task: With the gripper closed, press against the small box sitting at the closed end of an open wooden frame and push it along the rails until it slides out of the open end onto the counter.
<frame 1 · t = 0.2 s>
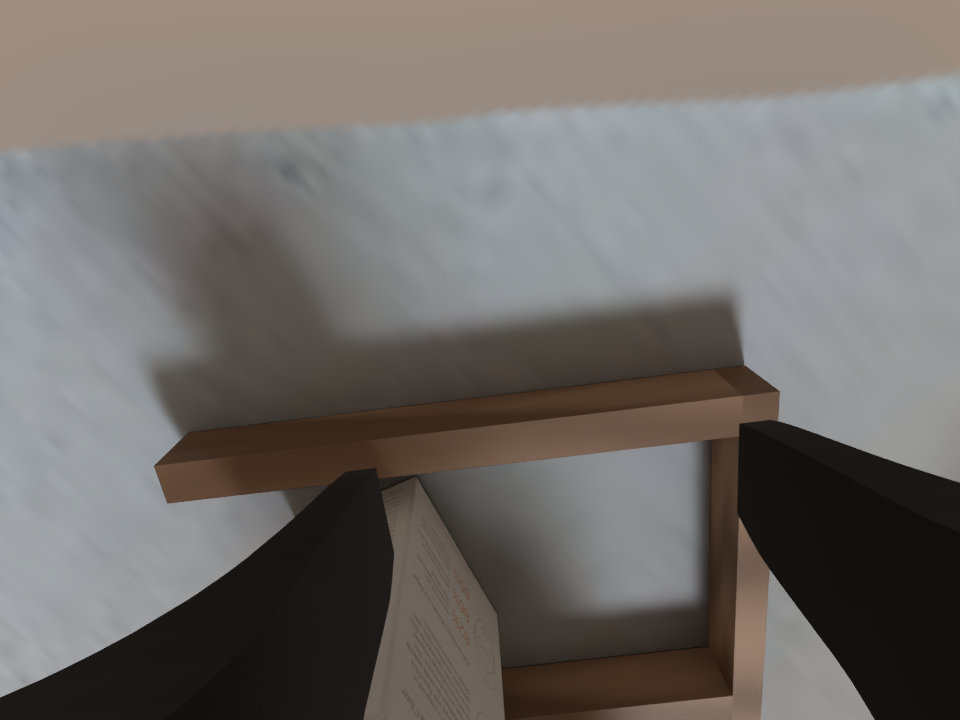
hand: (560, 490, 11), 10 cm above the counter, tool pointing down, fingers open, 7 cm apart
small box: (403, 567, 24), on the counter
open wooden frame: (472, 563, 24), on the counter
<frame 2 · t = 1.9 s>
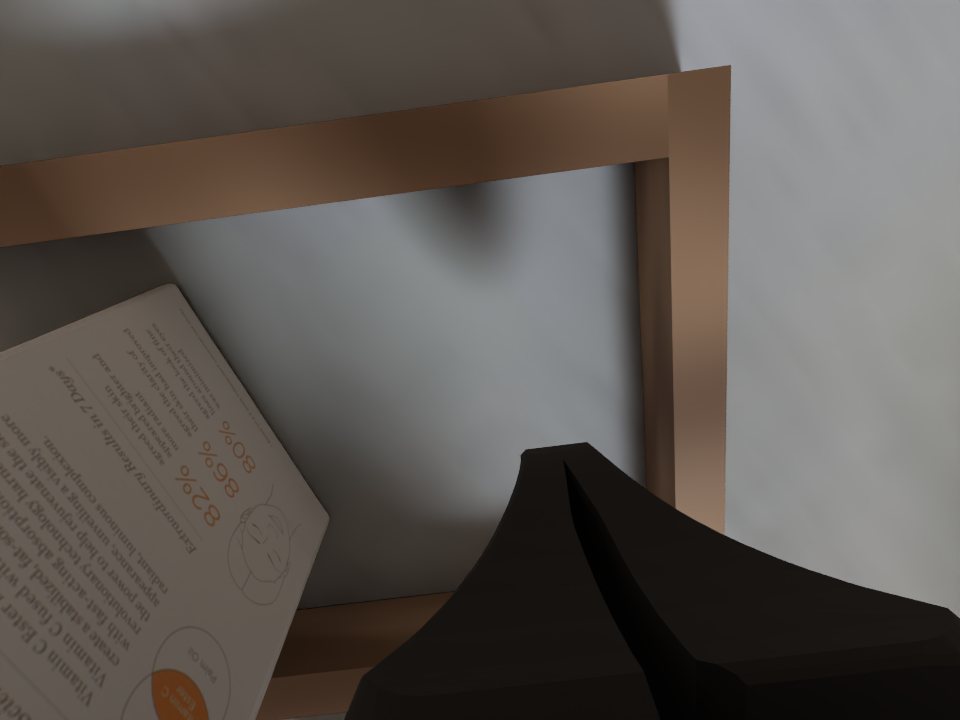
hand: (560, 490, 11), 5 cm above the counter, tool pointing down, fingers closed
small box: (183, 443, 16), on the counter
open wooden frame: (284, 434, 16), on the counter
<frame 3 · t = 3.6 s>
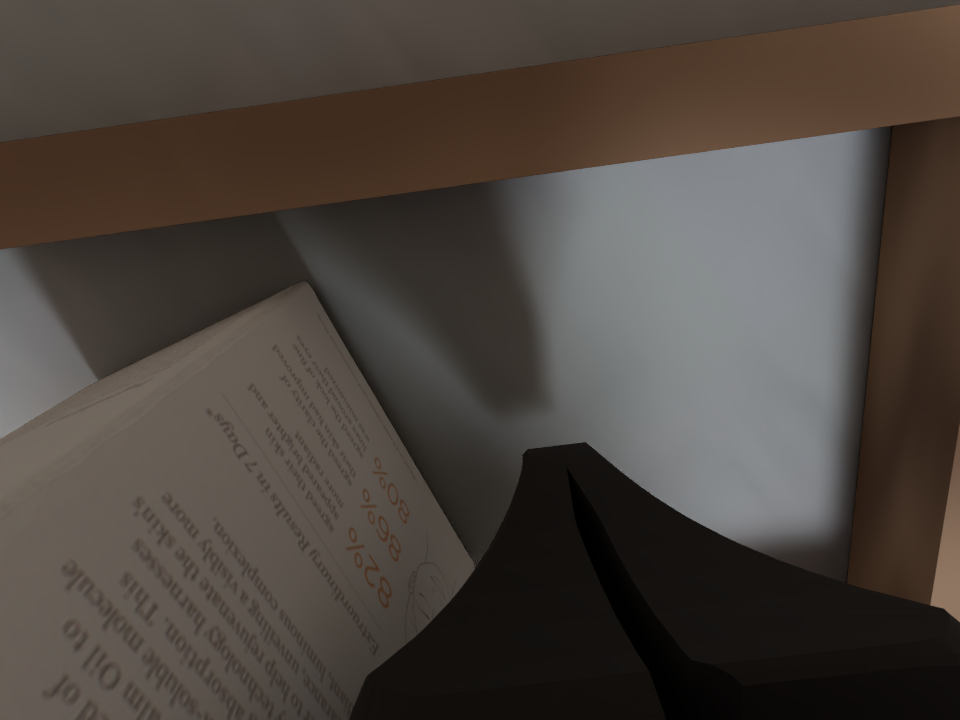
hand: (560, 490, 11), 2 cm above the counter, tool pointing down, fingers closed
small box: (302, 473, 13), on the counter, touching gripper
open wooden frame: (427, 460, 13), on the counter
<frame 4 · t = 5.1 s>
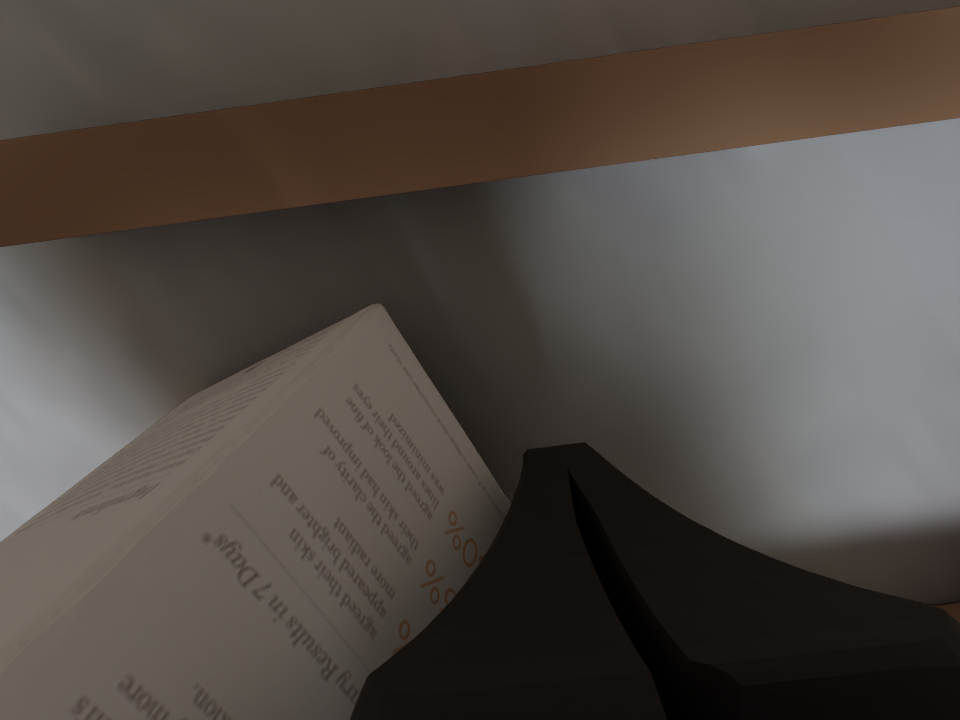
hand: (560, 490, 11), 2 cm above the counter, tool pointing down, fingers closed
small box: (393, 490, 13), point 1 cm above the counter, touching gripper
open wooden frame: (590, 440, 13), on the counter
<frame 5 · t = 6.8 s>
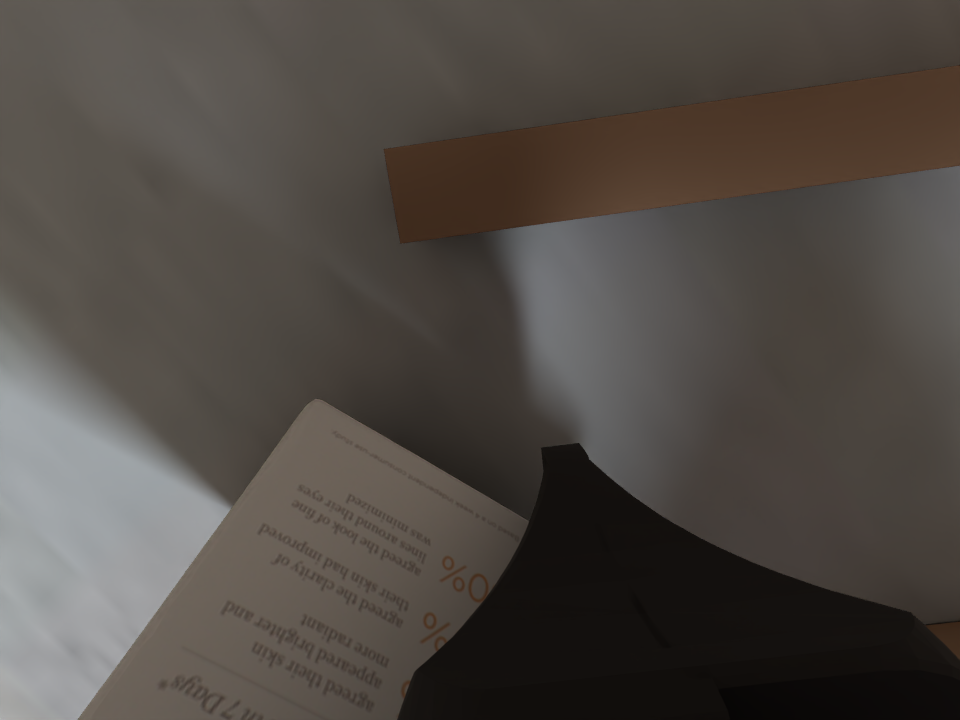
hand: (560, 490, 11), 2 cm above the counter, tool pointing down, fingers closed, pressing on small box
small box: (434, 543, 13), point 1 cm above the counter, touching open wooden frame, gripper
open wooden frame: (877, 429, 13), on the counter
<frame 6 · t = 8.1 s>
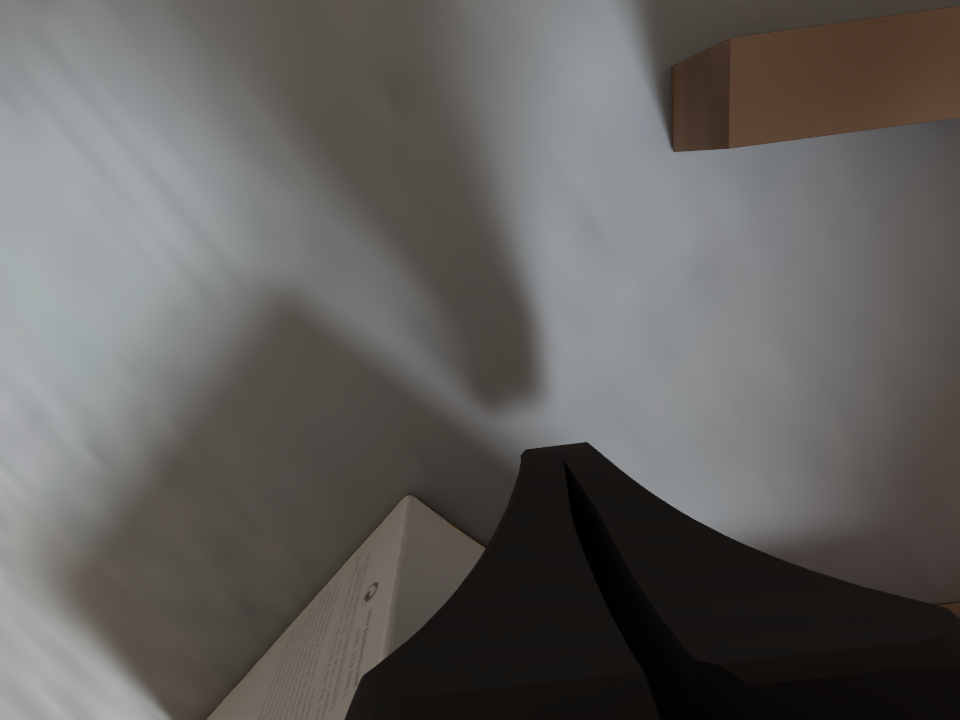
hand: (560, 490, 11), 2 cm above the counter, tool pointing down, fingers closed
small box: (560, 659, 12), point 3 cm above the counter
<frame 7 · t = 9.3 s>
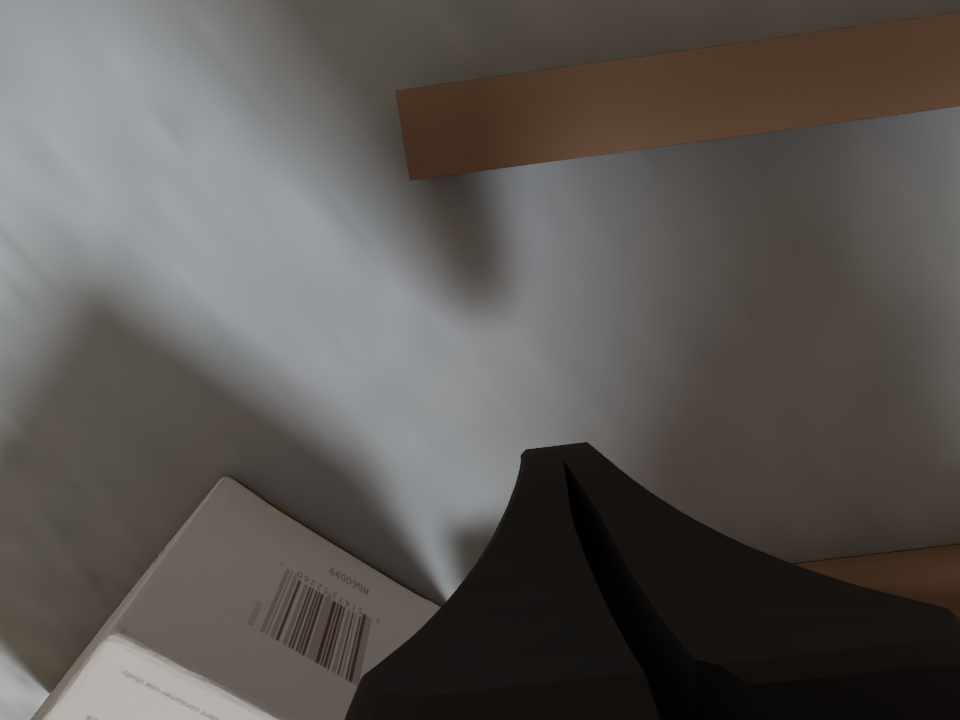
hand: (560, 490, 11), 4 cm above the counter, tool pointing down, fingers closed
small box: (334, 615, 13), point 3 cm above the counter
open wooden frame: (845, 368, 14), on the counter
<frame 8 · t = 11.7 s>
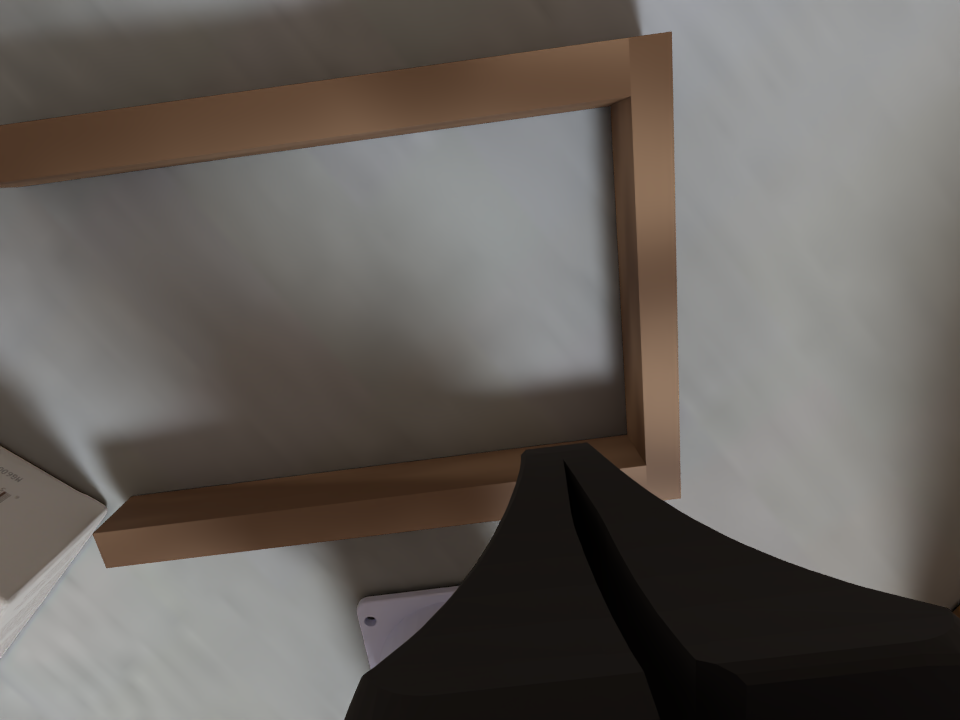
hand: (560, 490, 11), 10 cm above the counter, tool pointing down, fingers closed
open wooden frame: (346, 320, 21), on the counter
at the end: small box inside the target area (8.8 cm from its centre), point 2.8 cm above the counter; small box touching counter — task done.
